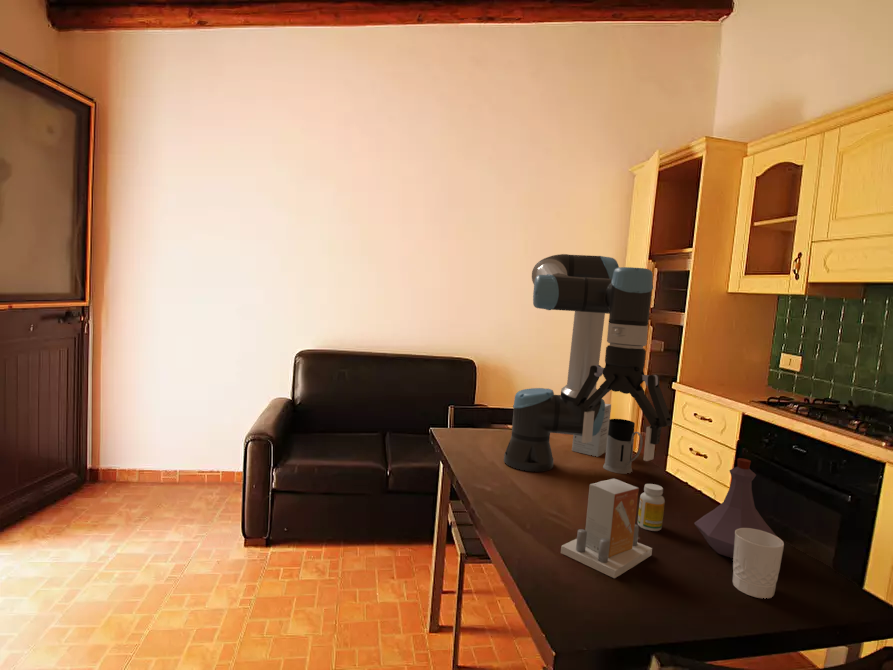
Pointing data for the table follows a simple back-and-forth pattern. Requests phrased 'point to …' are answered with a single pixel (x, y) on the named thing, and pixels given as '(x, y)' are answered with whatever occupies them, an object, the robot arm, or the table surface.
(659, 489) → the supplement bottle
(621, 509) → the small box
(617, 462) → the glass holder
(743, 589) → the white cup
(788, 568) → the table surface
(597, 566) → the pin tray
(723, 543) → the flask
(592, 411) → the robot arm
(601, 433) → the supplement box
